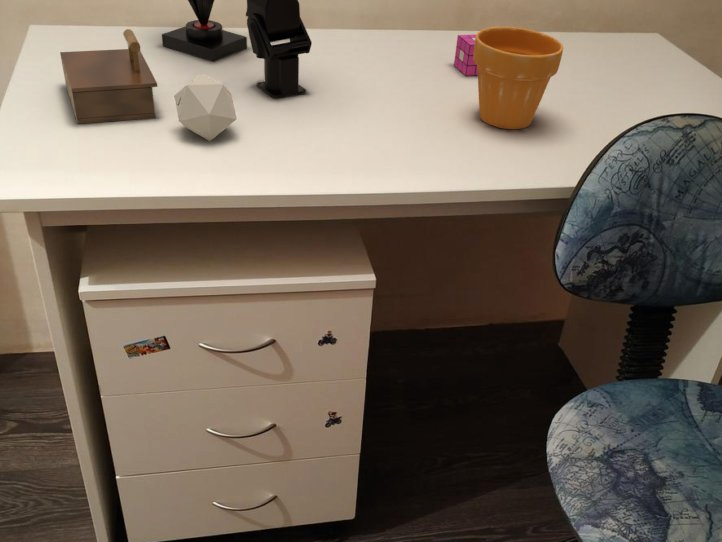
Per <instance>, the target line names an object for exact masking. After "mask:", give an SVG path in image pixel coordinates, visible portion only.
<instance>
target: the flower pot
mask: <svg viewBox="0 0 722 542" xmlns="http://www.w3.org/2000/svg"><path fill="white" fill-rule="evenodd" d="M475 35H476V38H475V45H474V53H473V60H474V62H475V64H476V65H477V69H478V75H477V87H478V88H477V89H478V90H477V91H478V109H479V111H478V113H479V118H480V120H482V121H483V122H484V123H486V124H488V125H490V126H493V127H496V128H500V129H504V130H505V129H506V130H520V129H524V128H527V127H529V126H530V125H531V123H532V121H533V119H534V117H535V115H536V112H537V110H538V108H539V106H540V104H541V101H542V98H543V97H544V94H545V92H546V89H547V87H548V85H549V82H550V80H551V78H552V77H553V76H555V75H556V74H557V73H558V72H559V71H558V70H559V68H560V64H561V61H562V56H563V52H564V45H563V44H562V42H561V41H560V40H558V39H557V38H555V37H553V36H551V35H549V34H547V33H544V32H540V31H537V30H533V29H529V28H522V27H514V26H513V27H512V26H493V27H487V28H483V29H480V30H479V31H478V32H477V33H476V34H475Z"/></svg>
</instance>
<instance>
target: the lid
mask: <svg viewBox="0 0 722 542" xmlns="http://www.w3.org/2000/svg"><path fill="white" fill-rule="evenodd" d="M122 33H123V34H122V35H123V37H124V40H125V41H126V43H127V44H126V45H127V48H119V49H99V50H98V49H97V50H96V49H95V50H76V51H60V52H59V54H60V59H61V58H62V60H61V63H62V62H63V65H64V68H65V71H66V74H67V78H68V81H69V84H70V87H71V90H72V92H83V91H98V90H114V89H130V88H145V87H152V88H157V87H158V81H156V79H155V76H154V74H153V73H152V71H151V69H150V67H149V65H148V63H147V61H146V59H145V57H144V55H143V53H142V51H141V44H140V42H139V41H138V39H137V36H136V35H135V33H134V31H133V30H132V29H130V28H127V29H125V30H124V31H123V32H122Z"/></svg>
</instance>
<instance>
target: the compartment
mask: <svg viewBox="0 0 722 542" xmlns="http://www.w3.org/2000/svg"><path fill="white" fill-rule="evenodd" d="M60 60H61V65H62V71H63V77H64V82H65V87H66V90H67V91H66V92H67V93H68V97H69V100H70V104H71V107H72V110H73V113H74V117H75V121H76V123H77V125H81V124H83V125H84V124H95V123H97V124H98V123H106V122H107V123H108V122H110V123H111V122H119V121H120V122H122V121H132V120H135V121H136V120H147V119H156V110H155V102H154V92H153V87H145V88H130V89H114V90H98V91H83V92H72V90H71V87H70V84H69V81H68V78H67V74H66V71H65V68H64V65H63V62H62V58H61V57H60Z"/></svg>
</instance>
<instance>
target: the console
mask: <svg viewBox="0 0 722 542" xmlns="http://www.w3.org/2000/svg"><path fill="white" fill-rule="evenodd" d="M196 22H199V20H198V19H194V20H191V21H188V22H186V24H185V25H184V26H182V27H179V28H176V29H173V30H170V31H167V32H164V33H161V41H162V47H164V48H167V49H171V50H173V51H177V52H180V53H183V54H186V55H190V56H193V57H197V58H199V59H203V60H206V61H209V62H212V63H214V62H216V61H219V60H222V59H224V58H228V57H229V56H232V55H235V54H237V53H239V52H243V51H245V50H247V49H248V36H245V35H241V34H239V33H235V32H231V31H228V30H224V28H223V25H222V24H221V23H220V22H219V21H215V20H210V19H209V20H208V22H210V23H213V24H214V28H211V29H198V28H195V27H194V24H195V23H196Z"/></svg>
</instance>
